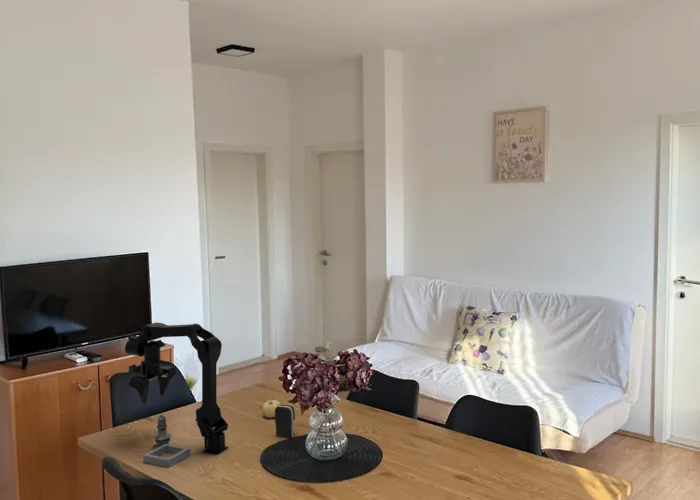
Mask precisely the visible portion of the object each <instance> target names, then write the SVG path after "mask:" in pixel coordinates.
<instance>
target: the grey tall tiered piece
mask: <svg viewBox="0 0 700 500" xmlns="http://www.w3.org/2000/svg"><path fill="white" fill-rule="evenodd" d="M166 421H167V418H166V417H165V416H164V415H163V414H162V413H160V415H159V416H158V417H157V426H156V428H157V434H156V435H154V437H153V439H154V441H155V443H156V444H157V445H156V446H155V448H154V449H156V448H158V447H160V446H162V445H164V444H170V441H171V438H172V435H171V434H169V433H168V431H167V427H168V424H167V422H166Z"/></svg>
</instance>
